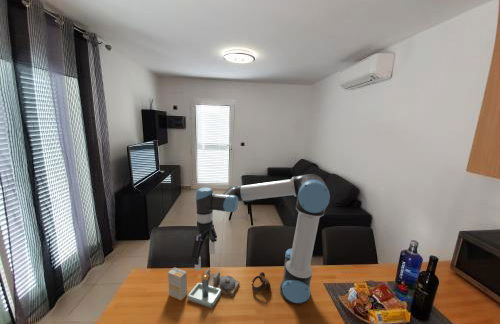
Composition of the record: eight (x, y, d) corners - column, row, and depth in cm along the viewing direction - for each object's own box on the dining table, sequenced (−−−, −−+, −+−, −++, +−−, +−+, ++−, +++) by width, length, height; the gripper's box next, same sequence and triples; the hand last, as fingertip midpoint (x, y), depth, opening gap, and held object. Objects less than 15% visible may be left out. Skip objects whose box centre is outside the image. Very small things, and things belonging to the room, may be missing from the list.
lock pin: (209, 292, 108) (209, 273, 107) (208, 298, 105) (208, 278, 103) (202, 292, 108) (202, 273, 107) (200, 298, 105) (200, 278, 103)
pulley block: (239, 284, 116) (239, 274, 115) (232, 296, 107) (232, 286, 106) (209, 275, 121) (209, 266, 120) (201, 286, 113) (201, 276, 112)
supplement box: (187, 294, 108) (187, 271, 105) (181, 301, 103) (180, 277, 101) (175, 289, 111) (174, 266, 109) (168, 295, 107) (167, 272, 104)
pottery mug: (272, 297, 108) (266, 287, 105) (256, 301, 110) (249, 292, 107) (271, 276, 119) (265, 266, 116) (256, 280, 121) (250, 271, 118)
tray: (221, 293, 109) (221, 289, 108) (212, 308, 100) (212, 303, 100) (198, 286, 113) (198, 282, 113) (187, 299, 104) (187, 295, 104)
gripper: (210, 209, 114) (211, 246, 117) (181, 230, 90) (183, 275, 94) (223, 211, 111) (223, 248, 115) (197, 234, 88) (198, 279, 91)
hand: (205, 261), depth 104 cm, fingers open, 13 cm apart
